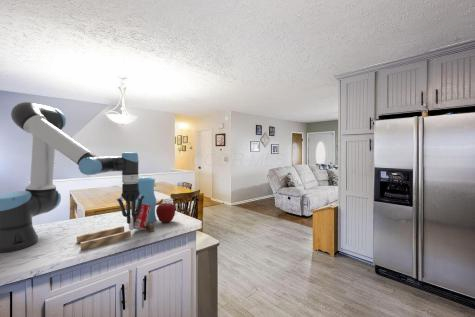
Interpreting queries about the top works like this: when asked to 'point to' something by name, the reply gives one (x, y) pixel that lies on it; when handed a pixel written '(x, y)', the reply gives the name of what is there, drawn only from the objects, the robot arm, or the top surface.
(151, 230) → the block
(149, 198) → the light blue storage bin
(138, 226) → the soda can
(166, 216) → the apple
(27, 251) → the top surface
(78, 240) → the chute
